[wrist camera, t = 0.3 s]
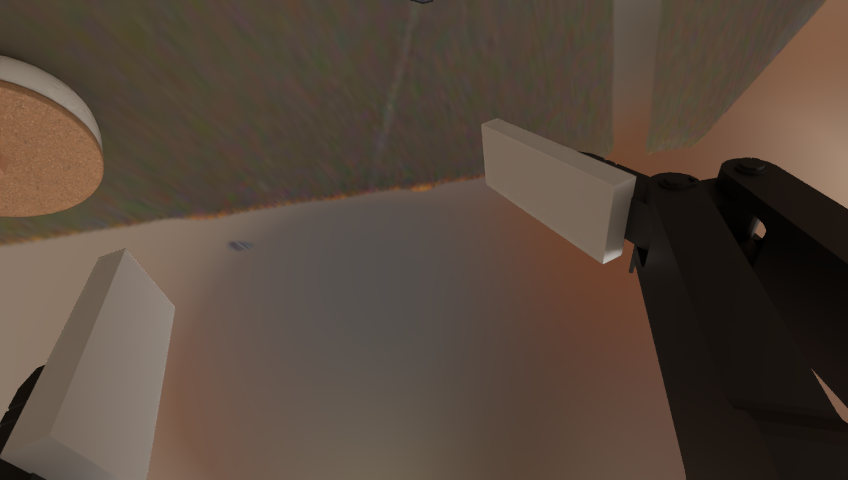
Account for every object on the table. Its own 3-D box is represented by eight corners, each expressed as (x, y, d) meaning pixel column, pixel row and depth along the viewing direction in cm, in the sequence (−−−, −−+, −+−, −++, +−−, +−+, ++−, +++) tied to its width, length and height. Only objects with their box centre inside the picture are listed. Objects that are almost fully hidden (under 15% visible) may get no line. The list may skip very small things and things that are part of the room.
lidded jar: (-17, -8, 24) (-56, 54, 19) (138, 113, 33) (141, 177, 28) (-150, 82, 25) (-224, 167, 19) (40, 178, 34) (25, 253, 28)
